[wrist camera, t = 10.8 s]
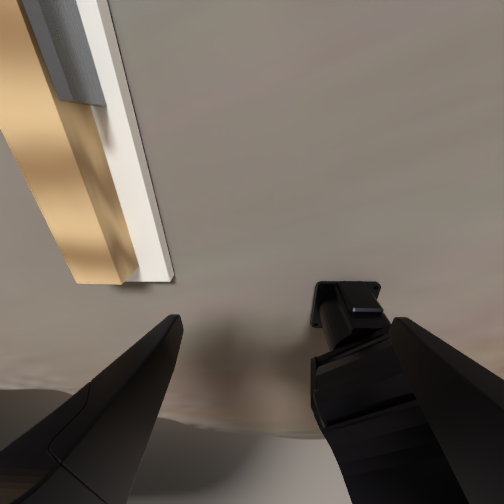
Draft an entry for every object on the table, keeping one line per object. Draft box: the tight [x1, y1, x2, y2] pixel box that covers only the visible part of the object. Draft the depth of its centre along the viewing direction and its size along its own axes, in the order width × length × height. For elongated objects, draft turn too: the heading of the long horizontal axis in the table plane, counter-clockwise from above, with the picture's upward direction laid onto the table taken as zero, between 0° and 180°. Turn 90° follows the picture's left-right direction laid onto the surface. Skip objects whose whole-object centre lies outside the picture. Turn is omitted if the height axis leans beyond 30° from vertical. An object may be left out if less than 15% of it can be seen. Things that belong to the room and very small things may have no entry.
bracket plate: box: [22, 0, 174, 282], centre depth 16 cm, size 22×9×4 cm, turn 1°
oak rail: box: [0, 0, 139, 285], centre depth 16 cm, size 18×4×3 cm, turn 0°
